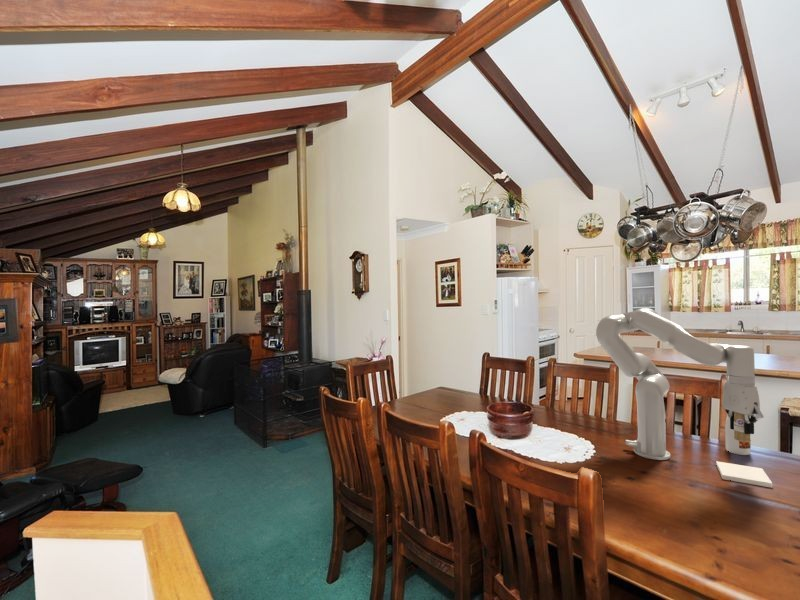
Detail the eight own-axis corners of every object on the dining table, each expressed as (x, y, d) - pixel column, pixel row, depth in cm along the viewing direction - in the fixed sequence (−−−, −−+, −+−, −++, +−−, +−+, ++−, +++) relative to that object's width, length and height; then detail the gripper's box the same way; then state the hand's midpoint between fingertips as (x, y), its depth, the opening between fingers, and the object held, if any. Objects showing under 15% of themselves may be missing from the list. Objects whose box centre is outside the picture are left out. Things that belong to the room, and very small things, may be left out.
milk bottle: (730, 454, 156) (729, 405, 156) (722, 447, 163) (721, 400, 163) (754, 456, 153) (753, 406, 153) (745, 449, 160) (744, 401, 160)
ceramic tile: (722, 479, 136) (722, 474, 136) (716, 465, 147) (716, 461, 147) (772, 487, 129) (772, 483, 129) (762, 472, 140) (762, 468, 140)
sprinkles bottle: (734, 440, 137) (733, 403, 137) (733, 436, 141) (733, 400, 141) (751, 443, 134) (750, 405, 134) (750, 439, 138) (750, 402, 138)
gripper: (709, 376, 146) (711, 424, 146) (755, 385, 129) (756, 440, 129) (727, 375, 146) (729, 423, 146) (775, 384, 130) (776, 439, 130)
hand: (742, 430), depth 138 cm, fingers closed on sprinkles bottle, 4 cm apart
